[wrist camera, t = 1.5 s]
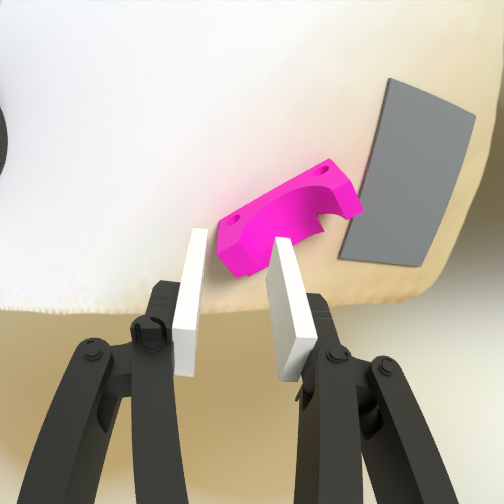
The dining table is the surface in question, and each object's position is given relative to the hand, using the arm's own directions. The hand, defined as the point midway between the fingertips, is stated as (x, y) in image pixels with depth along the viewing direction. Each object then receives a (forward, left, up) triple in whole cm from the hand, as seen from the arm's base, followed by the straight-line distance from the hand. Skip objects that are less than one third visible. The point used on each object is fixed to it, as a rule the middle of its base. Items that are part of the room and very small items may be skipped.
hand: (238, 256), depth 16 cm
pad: (+22, 0, -21) cm, 30 cm away
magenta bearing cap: (+7, -6, -21) cm, 23 cm away
